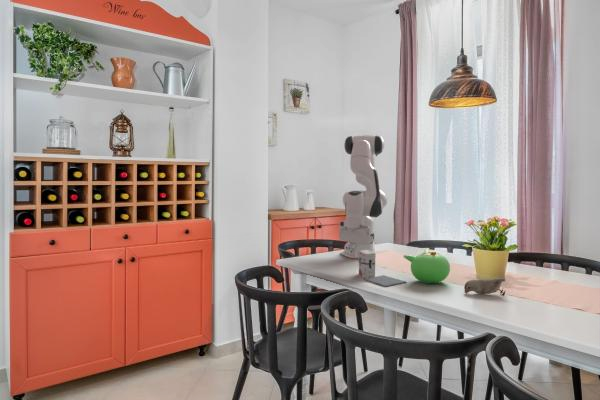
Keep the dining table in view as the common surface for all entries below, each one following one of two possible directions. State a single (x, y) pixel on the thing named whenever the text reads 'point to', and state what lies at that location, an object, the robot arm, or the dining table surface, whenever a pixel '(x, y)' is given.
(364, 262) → the ink box
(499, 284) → the decorative bird
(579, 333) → the dining table surface
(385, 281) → the mat
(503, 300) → the dining table surface
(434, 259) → the green teapot
